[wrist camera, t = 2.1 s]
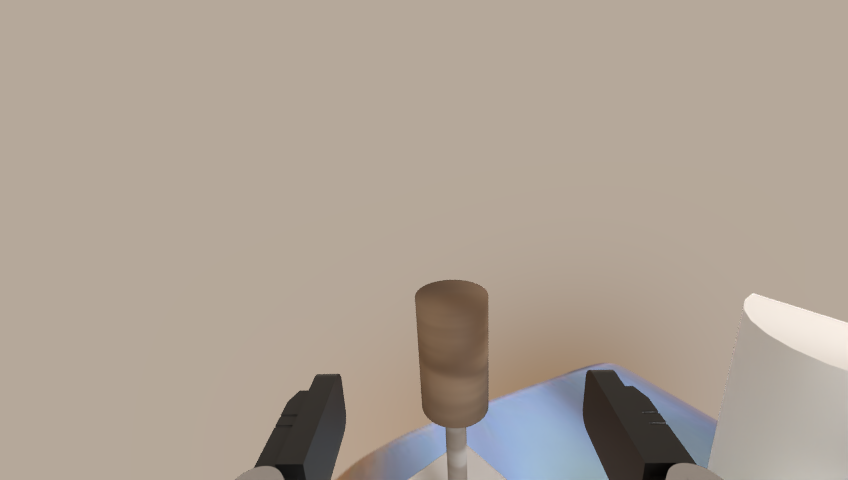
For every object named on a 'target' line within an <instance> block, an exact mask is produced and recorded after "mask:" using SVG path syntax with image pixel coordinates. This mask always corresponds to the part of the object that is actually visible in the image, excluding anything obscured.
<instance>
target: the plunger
mask: <svg viewBox="0 0 848 480" xmlns="http://www.w3.org/2000/svg"><path fill="white" fill-rule="evenodd" d="M415 302H416V317H417V333H418V348H419V364H420V379H421V394H422V408H423V411H424V413H425V415H426V416H427V417H428V418H429V419H430V420H431V421H432V422H434V423H436V424H438V425H440V426H443V427H446V447H447V470H448V480H467V442H466V427H468V426H471V425H474V424H476V423H477V422H479V421H480V420H481V419H482V418H483V417H484V416H485V415H486V413H487V411H488V293H487V291H486V290H485V289H484V288H483V287H482V286H480V285H478V284H475V283H472V282H468V281H462V280H444V281H437V282H434V283H430V284H427V285H425V286H423V287H422V288H420V289H419V290H418V291H417V293H416V295H415Z"/></svg>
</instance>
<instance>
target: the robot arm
mask: <svg viewBox="0 0 848 480" xmlns="http://www.w3.org/2000/svg"><path fill="white" fill-rule="evenodd" d="M583 419H584V424H585V428H586V430H587V433H588V435H589V437H590V439H591V441H592V444H593V446H594V448H595V450H596V452H597V455H598V457H599V459H600V461H601V463H602V465H603V468H604V470H605V472H606V474H607V476H608V478H609V480H723V479H722V478H721V477H720V476H718V475H717V474H715V473H714V472H712V471H710V470H708V469H706V468H704V467H701V466H699V465H697V464H696V463H695V462H694V460H693V459H692V457H691V456H690V455H689V453H688V452H687V451H686V449H685V448H684V446H683V445H682V444H681V442H680V441H679V440H678V438H677V437H676V435H675V434H674V433H673V431H672V430H671V428H670V427H669V426H668V425H666V422H665V420H664V419H663V417H662V416H661V415H660V413H658V411H657V409H656V408H655V406H654V405H653V404H652V402H651V401H650V399H649V398H648V397H647V396H645V395H644V394H643V393H641V392H640V391H639V390H637V389H636V388H635V387H633V386H624V384H623V383H622V381H621V380H620V378H619V377H618V375H617V374H616V373H615V371H614V370H588V371H587V374H586V381H585V391H584V402H583ZM345 424H346V410H345V403H344V395H343V388H342V380H341V376H340V374H317V375H316V376H315V378H314V380H313V382H312V385H311V387H310V389H309V391H299V392H298V393H297V394H296V395H295V396H294V397H293V398H291V399H290V400H289V401H288V403H287V404H286V406H285V408H284V410H283V412H282V414H281V417H280V418H279V420H278V422H277V424H276V428H274V430H273V432H272V434H271V436H270V438H269V439H268V441H267V443H266V446H265V447H264V449H263V451H262V453H261V455H260V457H259V459H258V461H257V463H256V465H255V467H254V468H253V469H251V470H248V471H247V472H245V473H243V474H242V475H240V476H239V477H238V478H237V479H235V480H331V476H332V473H333V469H334V466H335V462H336V459H337V455H338V452H339V448H340V445H341V442H342V438H343V435H344V431H345Z"/></svg>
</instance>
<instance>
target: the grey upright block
mask: <svg viewBox="0 0 848 480" xmlns="http://www.w3.org/2000/svg"><path fill="white" fill-rule="evenodd" d="M408 480H448V470H447V452H446V453H445V454H443V455H442V456H440V457H439V458H438V459H436V460H435V461H433V462H432V463H431V464H429V465H428V466H426V467H425V468H423V469H422V470H421V471H419V472H418V473H416V474H415V475H414V476H412V477H411V478H409V479H408ZM467 480H507V479H506V478H504V477H503V476H502V475H501V474H500V473H499V472H497V471H496V470H495V469H494V468H493V467H492V466H491V465H489V464H488V463H487V462H486V461H485V460H484V459H483V458H481V457H480V456H479V455H478V454H477V453H476V452H474V451H473V450H472V449H471V448H470V447H469V446H468V445H467Z"/></svg>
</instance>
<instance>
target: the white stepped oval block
mask: <svg viewBox="0 0 848 480" xmlns="http://www.w3.org/2000/svg"><path fill="white" fill-rule="evenodd" d="M707 469H708V470H710V471H712V472H714V473H715V474H717V475H718V476H720V477H721V478H722V479H723V480H848V323H847V322H844V321H841V320H838V319H834V318H831V317H828V316H825V315H822V314H818V313H815V312H812V311H809V310H805V309H802V308H799V307H796V306H793V305H789V304H786V303H783V302H779V301H777V300H773V299H770V298H767V297H764V296H761V295H757V294H754V293H752V294H751V295H750V296H749V297H748V298H746V299H745V301H744V305H743V310H742V314H741V319H740V323H739V328H738V332H737V337H736V341H735V346H734V351H733V355H732V359H731V364H730V368H729V373H728V378H727V382H726V386H725V391H724V396H723V400H722V405H721V409H720V413H719V418H718V422H717V427H716V431H715V436H714V440H713V445H712V449H711V454H710V458H709V463H708V467H707Z"/></svg>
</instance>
